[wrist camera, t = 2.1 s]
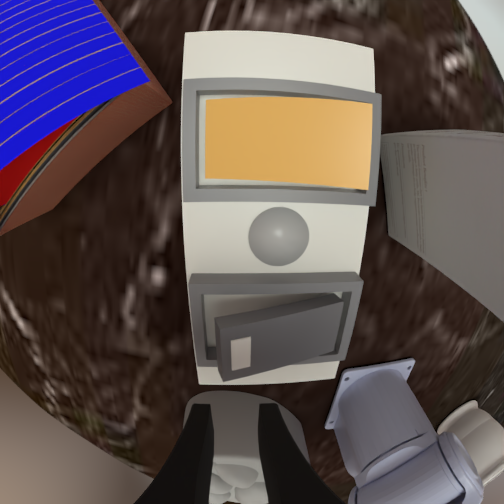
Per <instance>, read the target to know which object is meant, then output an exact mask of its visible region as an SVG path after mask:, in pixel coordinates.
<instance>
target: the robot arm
mask: <svg viewBox="0 0 504 504" xmlns="http://www.w3.org/2000/svg"><path fill="white" fill-rule="evenodd" d="M414 363H415V360H414V359H413V358H409V359H404V360H399V361H394V362H389V363H383V364H377V365H371V366H365V367H358V368H351V369H346V370H344V371H343V372H342V375H341V378H340V381H339V384H338V387H337V391H336V394H335V397H334V400H333V403H332V405H331V408H330V411H329V414H328V417H327V420H326V422H325V425H324V427H325V429H333V428H334V431H335V435H336V438H337V441H338V444H339V447H340V451H341V454H342V457H343V461H344V464H345V467H346V469H347V471H348V472H349V473H350V474H351V475H352V476H353V477H354V478H355V481H356V485H357V486H355V487H354V488H353V489H352V490H351V492H350V495H349V500H348V504H481V502H482V500H483V492H484V486H483V482H482V480H481V478H480V476H479V474H478V471H477V469H476V467H475V464H474V462H473V460H472V459H471V457H470V455H469V453H468V452H467V450H466V448H465V447H464V445H463V444H462V442H461V441H460V440H459V438H458V437H457V436H456V435H455V434H454V433H452V432H448V433H447V432H442V433H441V434H440V435H438V434H437V433H436V432H435V430H434V428H433V426H432V425H431V423H430V421H429V419H428V418H427V416H426V414H425V413H424V411H423V409H422V407H421V406H420V404H419V402H418V401H417V399H416V397H415V396H414V394H413V392H412V391H411V389H410V387H409V386H408V384H407V382H406V380H407V378H408V376H409V374H410V372H411V370H412V368H413V366H414ZM258 445H259V455H260V460H261V466H262V471H263V476H264V481H265V486H266V491H267V496H268V503H269V504H345V503H344V502H343V501H342V500H341V499H340V498H339V497H338V496H337V495H336V494H335V493H334V492H333V491H332V490H331V489H330V488H329V487H328V486H327V485H326V484H325V483H324V482H323V480H322V479H321V478H320V477H319V476H318V474H317V473H316V472H315V471H314V469H313V468H312V467H311V465H310V464H309V462H308V461H307V460H306V458H305V457H304V455H303V454H302V452H301V451H300V449H299V447H298V446H297V444H296V442H295V441H294V439H293V437H292V435H291V433H290V432H289V430H288V428H287V426H286V424H285V421H284V419H283V417H282V415H281V412H280V409H279V406H278V404H276V403H261V404H259V417H258ZM213 459H214V427H213V420H212V413H211V405H210V404H197V403H194V404H193V405H192V407H191V410H190V413H189V416H188V418H187V421H186V423H185V426H184V428H183V430H182V433H181V435H180V437H179V439H178V441H177V443H176V445H175V447H174V448H173V450H172V452H171V454H170V455H169V457H168V459H167V460H166V462H165V464H164V465H163V467H162V469H161V470H160V472H159V473H158V474H157V476H156V477H155V479H154V480H153V481H152V483H151V484H150V485H149V487H148V488H147V489H146V490H145V491H144V493H143V494H142V495H141V496H140V497H139V499H138V500H137V501H136V502H135V503H134V504H209V494H210V485H211V476H212V467H213Z"/></svg>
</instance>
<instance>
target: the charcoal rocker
mask: <svg viewBox="0 0 504 504" xmlns="http://www.w3.org/2000/svg"><path fill="white" fill-rule="evenodd" d="M343 304H344V301H343V300H342V299H341V298H339V297H338V296H337V295H336V294H334V293H332V294H328V295H324V296H319V297H315V298H311V299H306V300H302V301H297V302H292V303H288V304H283V305H278V306H273V307H268V308H263V309H258V310H253V311H248V312H242V313H237V314H231V315H226V316H220V317H214V322H215V338H216V353H217V366H218V372H219V374H220V376H221V379H222V381H223V382H226V381H230V380H235V379H239V378H243V377H247V376H251V375H255V374H259V373H263V372H267V371H270V370H274V369H277V368H281V367H284V366H288V365H291V364H295V363H298V362H301V361H304V360H307V359H311V358H314V357H317V356H320V355H323V354H326V353H329V352H331V351H333V350H334V346H335V342H336V338H337V333H338V329H339V324H340V319H341V314H342V309H343Z"/></svg>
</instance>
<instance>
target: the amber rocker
mask: <svg viewBox="0 0 504 504" xmlns="http://www.w3.org/2000/svg"><path fill="white" fill-rule="evenodd" d="M372 105H373V104H370V103H362V102H354V101H344V100H334V99H320V98H302V97H241V98H222V99H209V100H206V119H205V179H238V180H259V181H276V182H291V183H304V184H315V185H326V186H336V187H345V188H354V189H362V190H368V187H369V175H370V162H371V144H372Z"/></svg>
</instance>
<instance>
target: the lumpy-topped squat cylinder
mask: <svg viewBox="0 0 504 504" xmlns="http://www.w3.org/2000/svg"><path fill="white" fill-rule="evenodd" d="M194 403H197V404H210V405H211V413H212V420H213V427H214V459H213V467H212V476H211V485H210V494H209V503H211V504H222V503H224V502H226V501H231V502H239V503H241V504H266V503H268V496H267V491H266V486H265V481H264V476H263V471H262V466H261V460H260V455H259V445H258V417H259V404H261V403H276V404H278V406H279V409H280V412H281V415H282V417H283V419H284V421H285V424H286V426H287V428H288V430H289V432H290V433H291V435H292V437H293V439H294V441H295V442H296V444H297V446H298V447H299V449H300V451H301V452H302V454H303V455H304V457H305V458H306V460H307V461H308V462H309V464H310V461H309V456H308V451H307V447H306V442H305V438H304V434H303V429H302V425H301V423H300V422H299V420H298V419H297V418H296V417H295V416H294V415H293V414H292V413H291V412H289V411H288V410H287V409H286V408H284V407H283V406H282V405H280V404H279V403H277V402H275V401H274V400H271V399H269V398H266V397H262V396H258V395H254V394H249V393H244V392H238V391H208V392H203V393H200V394H198V395H196V396H194V397H193V398H191V399H190V400H189V402H188V403H187V406H186V409H185V416H184V424H183V428H184V426H185V423H186V421H187V418H188V416H189V413H190V410H191V407H192V405H193V404H194Z"/></svg>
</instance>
